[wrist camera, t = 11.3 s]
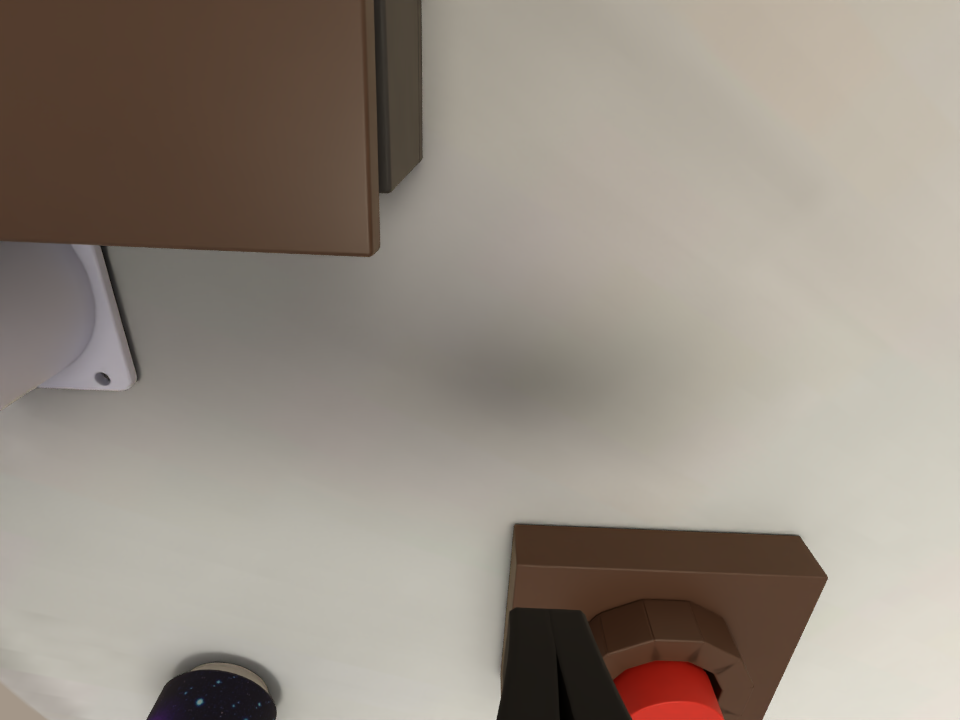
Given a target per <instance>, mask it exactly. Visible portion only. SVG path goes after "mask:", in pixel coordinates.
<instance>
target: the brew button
mask: <svg viewBox="0 0 960 720" xmlns="http://www.w3.org/2000/svg"><path fill="white" fill-rule="evenodd" d="M613 681H614V684H615V686H616V688H617V690H618V692H619V694H620V696H621V698H622V700H623V702H624V704H625V706H626V708H627V710H628V712H629V714H630V716H631V718H632V720H724V717H723V715H722V712H721V709H720V706H719V704H718V701H717V698H716V696H715V693H714V690H713V688H712V685H711V682H710V680H709V677H708V675H707V674H706V672H705V671H704V670H703V669H702V668H701V667H699V666H697V665H694V664H692V663H690V662H682V661H657V660H656V661H653V662H649V663H646V664H642V665H639V666H636V667H632V668H629V669H626V670H625V671H623V672H622V673H621V674H620V675H619V676H617V677H616V678H615V679H614V680H613Z"/></svg>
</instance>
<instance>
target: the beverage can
mask: <svg viewBox="0 0 960 720" xmlns="http://www.w3.org/2000/svg"><path fill="white" fill-rule="evenodd" d="M276 715H277V711H276V706H275V704H274V702H273V699H272V698H271V696H270V695H269V693H268V689H267V686H266V684H265V683H264V681H263V680H262V679H261V678H260V677H259V676H258V675H256V674H255V673H254V672H252V671H250V670H248V669H246V668H244V667H241V666H238V665H234V664H230V663H218V662H215V663H207V664H203V665H200V666H198V667H196V668H194V669H193V670H191V671H189V672H186V673H183V674H181V675H179V676H176V677H174V678H173V679H171V680H170V681H169V682H168V683H167V684H166V685H165V686H164V688H163V690H162V692H161V694H160V695H159V697H158V699H157V701H156V703H155V705H154V707H153V708H152V710H151V712H150V714H149V716H148V718H147V720H275V719H276Z"/></svg>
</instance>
